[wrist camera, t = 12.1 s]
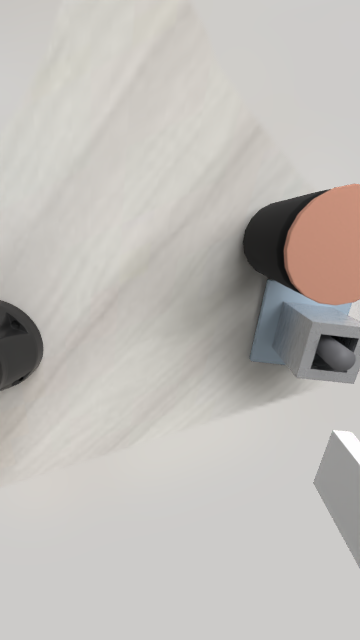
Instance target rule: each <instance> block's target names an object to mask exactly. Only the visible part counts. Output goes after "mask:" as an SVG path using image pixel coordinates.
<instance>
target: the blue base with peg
mask: <svg viewBox="0 0 360 640" xmlns="http://www.w3.org/2000/svg"><path fill="white" fill-rule="evenodd" d="M283 301H284V302H293V303H301V304H309V305H318V306H326V307H332V308H334V309H336V310H338V311H340V312H342V313H344V314H346V315H348V313H349V310H350V307H351V304H352V303H346V304H341V305H328V304H320V303H317V302H315V301H313V300H311V299H309V298H307V297H305V296H304V295H302V294H300V293H298V292H295V291H293V290H292V289H290V288H288V287H286V286H284V285H282V284H280V283H278V282H277V281H275V280H269V279H267V284H266V288H265V293H264V297H263V301H262V306H261V310H260V315H259V319H258V323H257V328H256V332H255V337H254V341H253V346H252V350H251V354H250V360H251V361H255V362H265V363H274V364H283V365H286V364H285V363H284V362H283V360H282V359H281V358H280V357H279V355H278V354H277V353H276V352H275V350H274V349H273V348H272V345H273V341H274V337H275V333H276V329H277V325H278V321H279V317H280V313H281V309H282V305H283ZM316 354H317V355H319V356H320V357H321V358H322V359H323V360H324V361H325V362H326V363H328V364H329V365H330V366H331V367H332V368H333V369H334V370H336V371H338V372H344V371H347V370H349V369H350V368H352V367H353V365H354V364H355V361H356V357H355V354H354V353H353V352H352V351H350V350H349V349H348V348H346V347H345V346H343V345H342V344H340V343H339V342H338V341H336V340H335V339H333V338H332V337H330V336H329V335H325V334H321V336H320V340H319V343H318V346H317V349H316Z"/></svg>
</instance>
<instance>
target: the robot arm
mask: <svg viewBox="0 0 360 640" xmlns="http://www.w3.org/2000/svg"><path fill="white" fill-rule="evenodd" d="M42 355H43V342H42V338H41V335H40V332H39V330H38V328H37V327H36V325H35V324H34V322H33V321H32V320H31V319H30V317H29V316H28V315H27V314H25V313H24V312H23V311H22V310H20V309H19V308H17V307H15V306H14V305H12V304H9V303H7V302H4V301H1V300H0V391H2V390H4V389H7V388H9V387H12V386H14V385H17V384H19V383H21V382H22V381H24V380H25V379H26V378H28V377H29V376H30V375H31V374H32V373H33V372H34V371H35V369H36V368H37V367H38V365H39V364H40V361H41V359H42ZM313 483H314V485H315V487H316V489H317V490H318V492H319V494H320V496H321V498H322V499H323V501H324V503H325V505H326V507H327V509H328V511H329V513H330V515H331V516H332V518H333V520H334V522H335V523H336V525H337V527H338V529H339V531H340V533H341V535H342V537H343V538H344V540H345V542H346V544H347V546H348V548H349V549H350V551H351V553H352V555H353V557H354V559H355V560H356V562H357V564H358V566H359V568H360V441H359V440H358V439H357V438H356V437H355V436H354V435H353V433H352V432H347V431H337V430H333V431H332V433H331V436H330V439H329V442H328V445H327V447H326V450H325V452H324V455H323V458H322V460H321V463H320V466H319V469H318V471H317V474H316V477H315V479H314V482H313Z"/></svg>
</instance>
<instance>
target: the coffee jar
mask: <svg viewBox="0 0 360 640" xmlns="http://www.w3.org/2000/svg"><path fill="white" fill-rule="evenodd" d="M243 245H244V253H245V255H246V258H247V260H248V262H249V264H250V265H251V266H252V267H253V268H254V269H255V270H256V271H258V272H260V273H262V274H263V275H265V276H267V277H269V278H271V279H273V280H275V281H277V282H278V283H280V284H282V285H284V286H286V287H288V288H290V289H292V290H293V291H295V292H298V293H300V294H302V295H304V296H305V297H307V298H309V299H311V300H313V301H315V302H317V303H320V304H328V305H341V304H346V303H352V302H355V301H357V300H359V299H360V185H359V184H351V185H346V186H342V187H336V188H333V189H329V190H324V191H319V192H315V193H311V194H307V195H303V196H300V197H296V198H292V199H288V200H284V201H280V202H276V203H272V204H270V205H268V206H266V207H264V208H262V209H261V210H259V211H258V212H257V214H256V215H255V216H254V217H253V218H252V219H251V220H250V222H249V224H248V226H247V228H246V230H245V235H244V240H243Z"/></svg>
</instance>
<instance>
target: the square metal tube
mask: <svg viewBox="0 0 360 640" xmlns="http://www.w3.org/2000/svg"><path fill="white" fill-rule="evenodd" d="M321 334H325V335H329V336H330V337H332V338H333V339H335V340H336V341H338V342H339V343H340V344H342V345H343V346H345V347H346V348H348V349H349V350H350V351H352V352H353V353H354V354H355V357H356V361H355V364H354V365H353V367H352V368H350V369H349V370H347V371H344V372H338V371H336V370H334V369H333V368H332V367H331V366H330V365H329V364H328V363H326V362H325V361H324V360H323V359H322V358H321V357H320V356H319V355H317V354H316V349H317V346H318V343H319V340H320V336H321ZM272 348H273V349H274V350H275V352H276V353H277V354H278V355H279V357H280V358H281V359H282V360H283V362H284V363H285V364H286V365H287V366H288V368H289V369H290V370H291V371H292V373H293V374H294V375H295V376H296V378H304V379H313V380H323V381H332V382H342V383H351V384H354V382H355V379H356V376H357V374H358V371H359V368H360V321H358V320H356V319H354V318H352V317H350V316H348V315H346V314H344V313H342V312H340V311H338V310H336V309H334V308H332V307H326V306H318V305H309V304H301V303H293V302H284V301H283V305H282V309H281V313H280V317H279V321H278V325H277V329H276V333H275V337H274V341H273V345H272Z"/></svg>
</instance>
